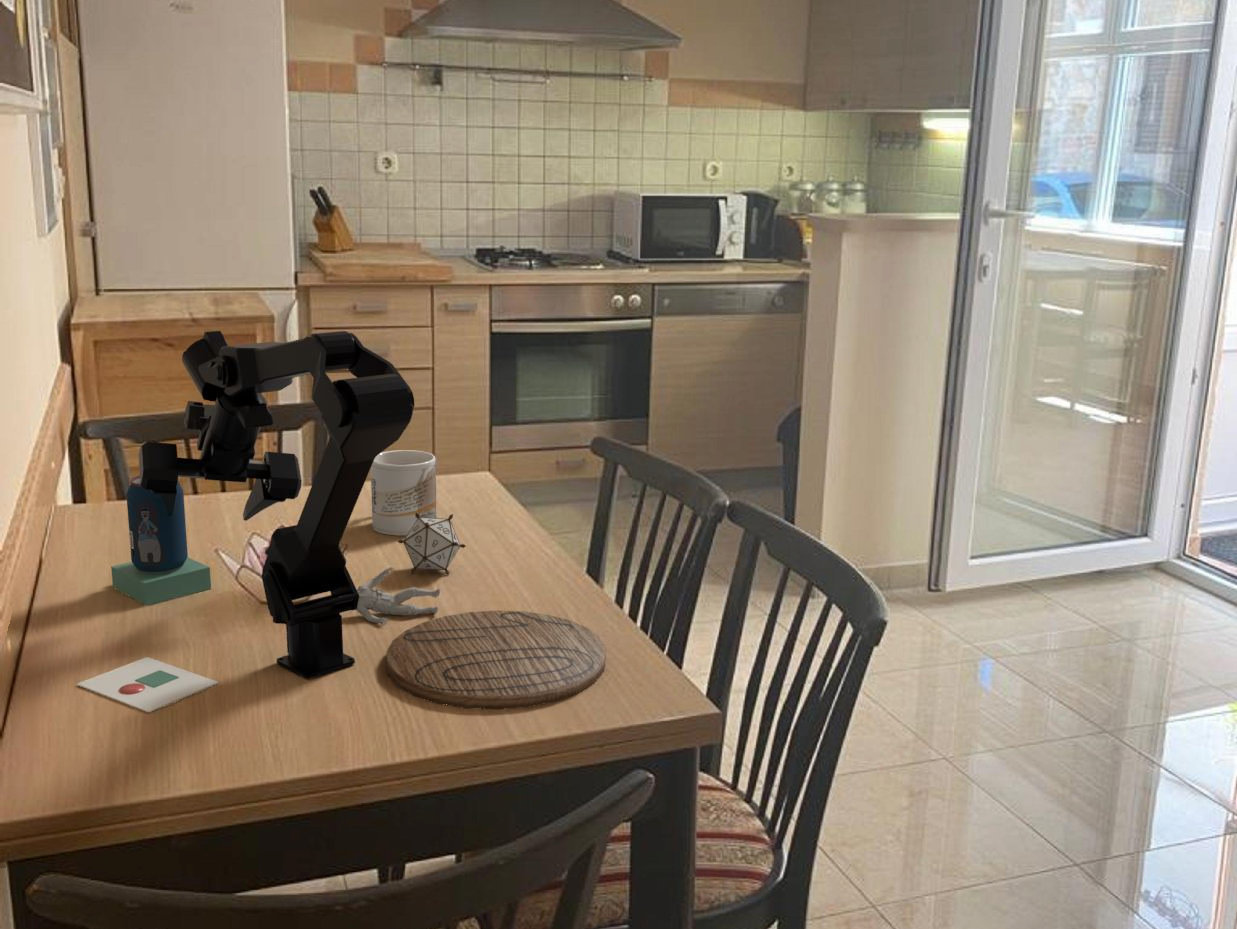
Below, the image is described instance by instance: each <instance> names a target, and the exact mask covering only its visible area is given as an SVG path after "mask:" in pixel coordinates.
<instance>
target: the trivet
mask: <svg viewBox="0 0 1237 929" xmlns="http://www.w3.org/2000/svg"><path fill="white" fill-rule="evenodd" d="M606 651H607V647H606V646H605V644H604V642H603V641H602V639H601V637H600V636H599V635H598V634H596V633H595V632H594V631H592V630H591V629H589V628H588V627H587V626H584V625H582V624H579V623H577V622H574V621H572V620H570V619H566V618H563V617H558V616H555V615H551V614H545V613H538V612H531V611H530V612H529V611H521V610H482V611H468V612H462V613H456V614H451V615H445V616H441V617H439V618H435V619H430V620H427V621H424V622H421V623H419V624H417V625H415V626H412V627H410V628H408V629H406V630H404V631H403V632H402V633H401V634H399V635H398V636H396V637H395V638H394V639H393V640H392V641H391V643H390V644H389V647H388V649H387V650H386V667H387V675H388V677H389V678H390V679H391V681H392V682H393V683H394V685H396V687H397V688H398V689H401V690H402V691H404V692H407V693H408V694H409V695H411V696H414V697H415V698H418V699H422V700H424V699H425V701H428V702H431V701H432V702H431V703H434V702H436V703H435V704H436V705H437V704H438V705H442V704H445V705H444V706H448V705H452V706H451V707H457V708H461V707H463V708H462V709H469V708H481V709H480V710H505V709H504V708H510V709H518V708H517V707H522V708H530V707H529V706H531V707H534V706H533V705H536V706H539V705H538V704H541V705H544V704H543V703H546V704H548V703H547V702H551V703H554V701H555V702H558V701H561V700H563V698H564V699H566V698H569V697H571V695H572V696H574V695H577V693H578V694H580V693H581V692H583V691H584V689H585V688H586V689H588V688H589V687H590V685H591V686H592V684H593V685H594V684H595V682H598V680H599V679H600V678H601V677H602V675H603V674H604V673H605V668H606V667H605V666H606V653H607V652H606ZM602 673H603V674H602ZM597 679H598V680H597ZM587 687H588V688H587ZM586 689H585V690H586ZM579 692H580V693H579ZM446 704H447V705H446ZM484 708H485V709H484Z"/></svg>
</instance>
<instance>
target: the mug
mask: <svg viewBox="0 0 1237 929" xmlns="http://www.w3.org/2000/svg"><path fill="white" fill-rule="evenodd" d="M436 460H437V459H436V456H435V455H434V454H433V453H430V452H427V451H422V450H414V449H413V450H411V449H409V450H408V449H401V450H400V449H399V450H397V449H396V450H390V451H389V450H388V451H382V452H381V453H380V454H378V455H377V456H376V457H375V459H374V461H373V464H372V466H371V468H370V484H371V486H370V490H371V492H370V493H371V519H372V520H371V522H372V529H373V530H374V531H375V532H376V533H379V534H384V535H389V536H399V537H400V536H401V537H404V536H405V537H406V536H407V534H408V533H409V531H410V530H411V528H412V527H413V525H414V523H415V522H416V520H417V517H416V516H415V514H416V513H418V514H419V515H420V516H419V517H422V518H437V473H436V472H437V471H436V469H437V468H436V467H437V465H436V462H437V461H436Z"/></svg>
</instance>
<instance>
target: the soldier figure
mask: <svg viewBox="0 0 1237 929" xmlns="http://www.w3.org/2000/svg"><path fill="white" fill-rule="evenodd" d="M394 569H395V567H392V566H391V567H388V568H386V569H384V570H383V571H381V572H380V573H379V574H378V575H376V576H375V577H374V578H372V579H371V580H370V581H368V582H365V583H364V584H362V585H360V586H358V587H357V588H356V589H357V592H358V594H359V600H358V606H357V609H356V610H355V611H356V612H358V613H359V614H360V615H362V617H363V618H364V619H365V620H367V621H368V622H371V623H373V624H380V625H383V626H386V625H387V623H388V617H378V616H376V615H374V614H372V613H371V612H370V610H371V611H373V612H374V613H375V612H376V613H380V614H385V615H387V616H388V615H391V616H398V615H402V616H403V615H415V616H417V615H420V614H427V613H431V614H435V615H436V614H438V612H439V606H432V607H422V606H416V605H415V604H413V603H406V604H404V602H406V601H408V600H410V599H412V598H418V597H427V596H428V597H432V598H438V597H439V596H440V593H441V588H440V587H439V588H437V589H435V590H429V589H427V590H426V589H422V588H418V587H416V586H412V587H409V588H406V589H403V590H401V591H398V592H397V593H396V594H393V595H392V593H390V592H389V593H388V592H384V591H383V589H376V588H375V587H377V586H378V585H379V584H380V583H381V582H382V581H383V579H384V578H385V577H386V575H391V572H389V571H391V570H392V571H393V570H394ZM374 588H375V589H374Z"/></svg>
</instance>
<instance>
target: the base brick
mask: <svg viewBox="0 0 1237 929" xmlns="http://www.w3.org/2000/svg"><path fill="white" fill-rule="evenodd" d="M111 580H112V589H114V588H116V589H118V590H119V591H121V592H123V593H124V594H123V593H122V594H123V595H125V594H127V595H129V596H130V597H129V596H128V597H129V598H131V597H132V598H131V599H133V598H134V599H133V600H135V601H137V600H138V601H137V602H139V601H140V602H139V603H140V604H143V605H145V606H146V605H147V606H151V605H154V604H158V603H161V602H166V601H169V600H173V599H177V598H180V597H184V596H189V595H193V594H196V593H197V594H198V593H200V592H204V591H207V590H208V591H209V590H210V589H212V582H211V580H212V579H211V567H210V566H208V565H206V564H204V563H201V562H199V561H197V560H195V559H192V558H190V557H187V559H186V561H185V563H184V565H183V567H182V568H181V569H179V570H177V571H174V572H170V573H165V574H145V573H141V572H139V571H138V569H137V568H136V567H135V566H134V564H133V563H132V561H130V562H125V563H121V564H117V565H112V566H111ZM116 589H115V590H116ZM119 591H118V592H119ZM121 592H120V593H121ZM127 595H126V596H127Z"/></svg>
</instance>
